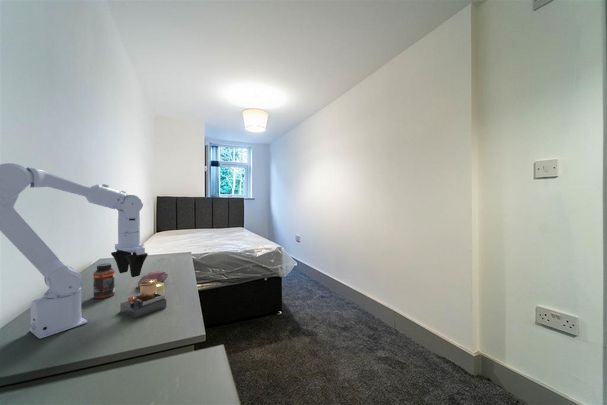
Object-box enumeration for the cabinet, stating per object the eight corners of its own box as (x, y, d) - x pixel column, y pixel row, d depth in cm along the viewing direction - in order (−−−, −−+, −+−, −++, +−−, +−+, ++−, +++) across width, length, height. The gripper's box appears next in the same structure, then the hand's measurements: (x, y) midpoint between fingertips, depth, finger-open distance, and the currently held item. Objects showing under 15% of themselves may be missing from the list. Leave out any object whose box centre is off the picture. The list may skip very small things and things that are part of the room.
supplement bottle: (119, 293, 90) (119, 262, 90) (104, 299, 84) (104, 266, 84) (104, 292, 90) (104, 262, 90) (88, 299, 84) (88, 266, 84)
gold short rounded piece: (149, 301, 83) (149, 289, 83) (139, 297, 86) (139, 286, 86) (168, 295, 88) (168, 284, 88) (158, 291, 92) (158, 281, 92)
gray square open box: (135, 318, 71) (135, 302, 71) (120, 311, 75) (120, 296, 75) (166, 307, 78) (166, 292, 78) (150, 301, 83) (150, 287, 83)
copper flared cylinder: (145, 304, 75) (145, 284, 74) (135, 301, 77) (135, 282, 77) (160, 298, 79) (160, 280, 79) (151, 295, 81) (151, 277, 81)
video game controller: (140, 293, 94) (143, 278, 92) (136, 285, 97) (139, 271, 95) (167, 286, 102) (170, 272, 100) (162, 279, 104) (166, 265, 102)
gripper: (154, 232, 78) (154, 274, 78) (131, 229, 85) (131, 268, 86) (130, 235, 72) (130, 280, 72) (107, 231, 79) (107, 273, 79)
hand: (129, 274), depth 79 cm, fingers open, 7 cm apart
